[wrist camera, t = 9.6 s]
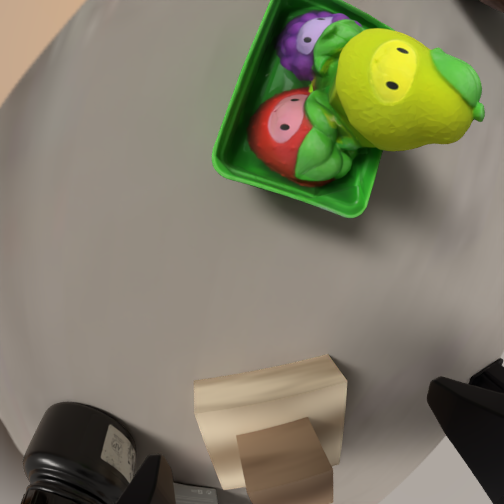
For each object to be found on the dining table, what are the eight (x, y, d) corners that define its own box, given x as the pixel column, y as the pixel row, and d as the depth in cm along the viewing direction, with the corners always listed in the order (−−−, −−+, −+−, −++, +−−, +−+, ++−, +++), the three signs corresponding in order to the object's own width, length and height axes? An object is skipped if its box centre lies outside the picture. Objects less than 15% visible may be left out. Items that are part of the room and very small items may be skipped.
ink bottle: (128, 476, 22) (118, 574, 11) (46, 445, 20) (13, 535, 9) (147, 419, 21) (134, 549, 9) (46, 379, 19) (-13, 490, 7)
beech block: (324, 434, 25) (339, 463, 21) (219, 457, 23) (223, 490, 19) (326, 351, 22) (347, 381, 18) (194, 377, 21) (194, 413, 17)
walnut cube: (312, 455, 20) (333, 502, 15) (250, 471, 19) (262, 521, 14) (307, 416, 18) (332, 469, 14) (235, 435, 18) (247, 492, 13)
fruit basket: (261, 15, 15) (320, -101, 4) (379, 67, 17) (498, 16, 6) (204, 174, 17) (209, 166, 7) (339, 217, 19) (470, 263, 8)
